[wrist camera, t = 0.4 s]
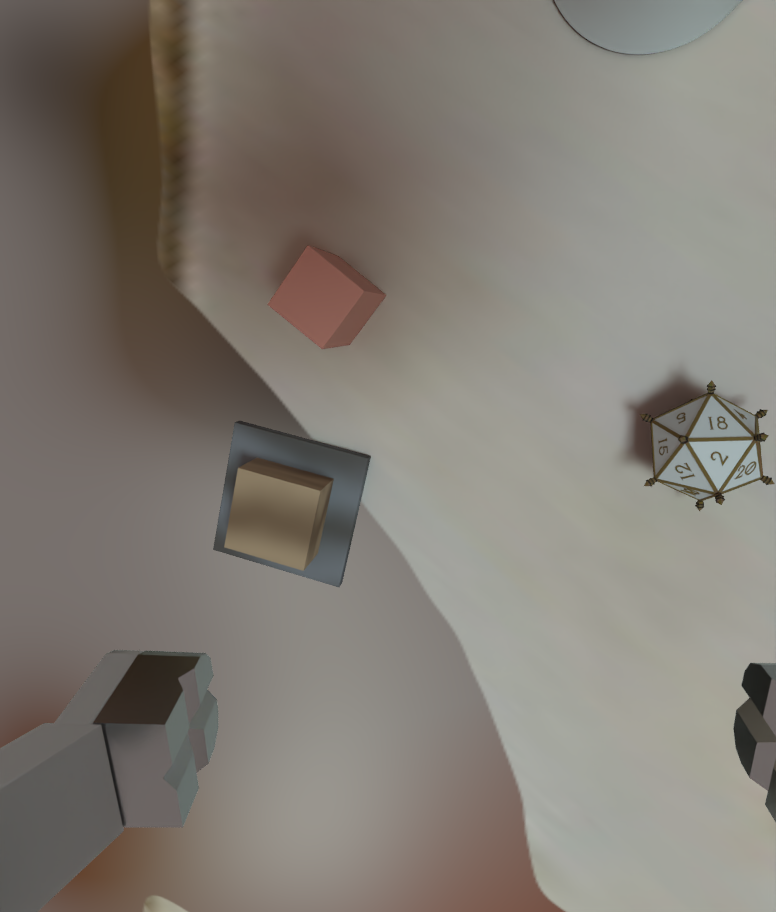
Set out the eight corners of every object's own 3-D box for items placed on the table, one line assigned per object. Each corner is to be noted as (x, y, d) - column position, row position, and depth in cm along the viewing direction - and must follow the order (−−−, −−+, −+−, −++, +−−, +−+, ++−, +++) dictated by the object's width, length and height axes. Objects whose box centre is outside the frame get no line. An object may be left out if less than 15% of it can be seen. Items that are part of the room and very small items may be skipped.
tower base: (239, 420, 56) (214, 430, 51) (370, 456, 55) (357, 469, 50) (218, 545, 59) (192, 565, 54) (342, 582, 57) (326, 606, 53)
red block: (338, 256, 52) (307, 245, 44) (386, 295, 52) (364, 291, 44) (302, 306, 53) (267, 304, 45) (349, 344, 53) (322, 349, 45)
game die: (694, 410, 52) (811, 378, 43) (701, 514, 51) (824, 505, 42) (604, 400, 49) (710, 363, 40) (609, 511, 48) (720, 499, 39)
